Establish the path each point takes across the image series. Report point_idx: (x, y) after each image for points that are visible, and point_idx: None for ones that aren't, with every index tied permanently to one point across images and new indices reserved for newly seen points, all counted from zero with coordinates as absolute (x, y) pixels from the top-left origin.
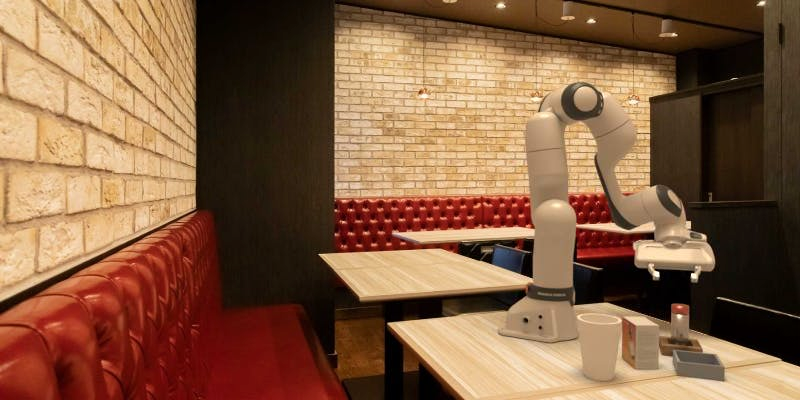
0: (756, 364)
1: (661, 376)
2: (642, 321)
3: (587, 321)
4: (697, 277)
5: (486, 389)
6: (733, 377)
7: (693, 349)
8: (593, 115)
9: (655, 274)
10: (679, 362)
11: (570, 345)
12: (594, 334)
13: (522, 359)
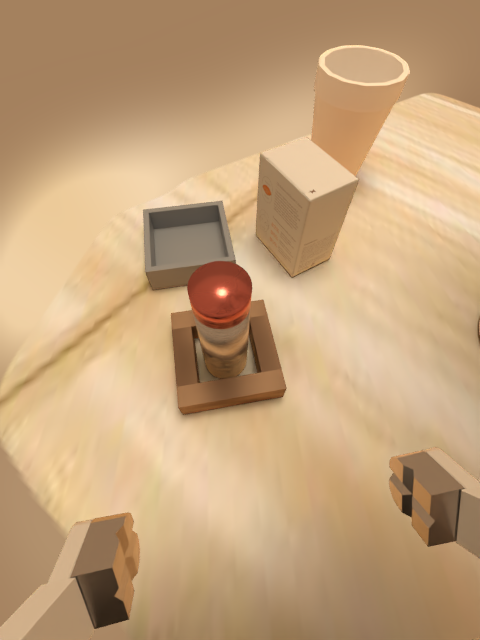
0: (59, 350)
1: (246, 209)
2: (301, 159)
3: (371, 48)
4: (70, 531)
5: (418, 103)
6: (131, 252)
7: (192, 311)
8: None
9: (436, 462)
10: (218, 202)
11: (453, 285)
12: (349, 73)
13: (462, 185)
